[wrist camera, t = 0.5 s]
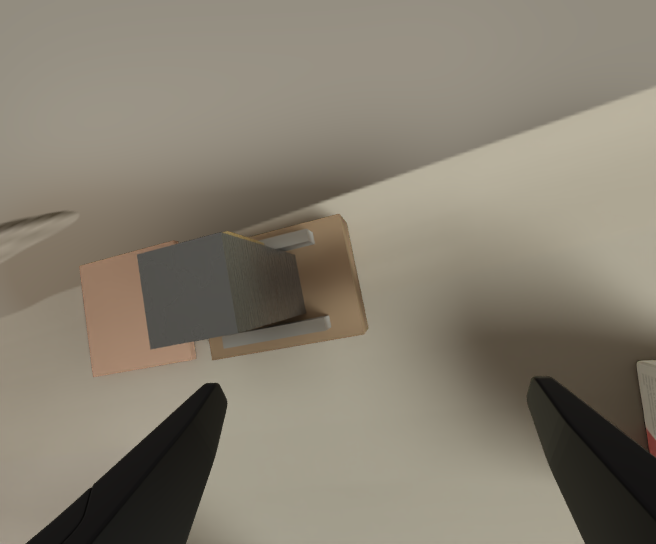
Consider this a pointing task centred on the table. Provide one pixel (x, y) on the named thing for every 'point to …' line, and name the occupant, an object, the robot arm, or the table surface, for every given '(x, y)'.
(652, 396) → the ink cartridge box
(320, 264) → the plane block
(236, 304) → the dark gray rectangular block
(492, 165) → the table surface
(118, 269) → the rubber mat
